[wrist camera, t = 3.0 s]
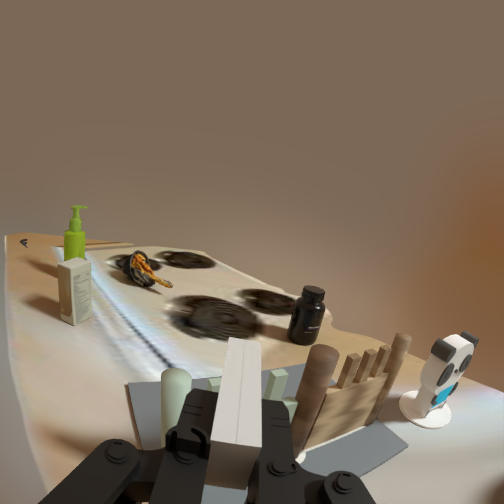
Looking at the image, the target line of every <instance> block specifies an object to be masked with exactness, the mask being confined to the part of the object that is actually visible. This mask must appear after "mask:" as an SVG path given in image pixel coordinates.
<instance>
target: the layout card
mask: <svg viewBox="0 0 504 504" xmlns="http://www.w3.org/2000/svg"><path fill="white" fill-rule="evenodd" d="M305 365H306V363H305V364H300V365H294V366H289V367H283V368H277V369H284V370H285V371H286V372H287V373H288V374H289V375H288V378H287V382H286V385H285V388H284V392H283V395H282V398H285V397H290V396H293V398H294V399H295V396H296V393H297V390H298V387H299V384H300V381H301V378H302V375H303V372H304V368H305ZM277 369H271V370H277ZM271 370H265V371H261V399H263V397H264V393H265V389H266V386H267V382H268V378H269V374H270V371H271ZM221 377H222V376H220V377H211V378H201V379H192V382H191V390H192V389H193V388H198V389H203V390H207V385H208V379H212V378H221ZM335 384H336V383H335V382H334V381H333V380H332V379H331V381H330V383H329V386H331V385H335ZM128 388H129V393H130V398H131V403H132V408H133V412H134V417H135V421H136V425H137V429H138V433H139V437H140V441H141V445H142V448H143V450H157V449H161V382H138V383H128ZM407 447H408V444H407V443H406V442H405V441H403V440H402V439H401V438H400V437H398V436H397V435H396V434H395V433H394V432H392V431H391V430H390V429H389V428H388V427H386V426H385V425H384V424H383V423H382V422H380V421H379V420H378V419H377V418H376V419H375V420H374V422H373V424H371V425H363V426H361V427H359V428H356V429H354V430H352V431H350V432H347V433H345V434H343V435H340V436H338V437H336V438H333V439H331V440H328V441H326V442H323V443H321V444H318V445H316V446H313V447H310V448H307V449H305V450H303V449H302V450H301V452H300V454H299V456H298V458H297V459H295V460H296V461H297V462H298V463H299V465H300V466H301V467H302V468H303V469H305V470H307V471H309V472H312V473H315V474H319V475H323V476H328V475H329V474H330V473H332V472H335V471H343V470H344V471H348V472H351V473H353V474H355V475H357V476H358V477H359V478H360V477H361V476H363V475H365V474H367V473H368V472H370V471H372V470H373V469H375V468H377V467H378V466H380V465H382V464H383V463H385V462H386V461H388V460H389V459H391V458H392V457H394V456H395V455H397V454H398V453H400V452H401V451H403V450H404V449H406V448H407ZM247 494H248V486H247V489H246V490H239V489H231V488H223V487H217V486H211V485H205V484H204V489H203V495H202V501H201V504H244V502H245V500H246V498H247Z"/></svg>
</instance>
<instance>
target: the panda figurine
mask: <svg viewBox="0 0 504 504" xmlns="http://www.w3.org/2000/svg"><path fill="white" fill-rule="evenodd" d="M478 341H479V339H478V338H477V337H474V336H473V335H471V334H469V333H468V332H466V331H463V332H462V333H461V335H460V336H459V335H456V334H455V335H450V336H449V337H447V338H445V339H444V340H442V339H440V338H439V339H438V340H437V341H436V342H435V343H434V345H433V346H432V349H431V353H432V354H431V355H430V357H429V358H428V360H427V362H426V363H425V365H424V367H423V369H422V372H421V376H420V382H421V384H422V385H421V387H420V389H419V391H410V392H407V393H405V394H403V395H402V396H401V398H400V400H399V408H400V410H401V412H402V414H403V415H404V416H405V417H406V418H407V419H408V420H409V421H411V422H412V423H414V424H416V425H418V426H420V427H423V428H427V429H439V428H443V427H445V426H446V425H447V424H448V423H449V422H450V420H451V411H450V409H449V407H448V406H447V404H446V401H447V398H448V397H449V396H450V395H451V394H452V393H453V392H454V390H455V389H456V387H457V385H458V382H457V381H458V379H459V378H460V377H461V375H462V374H463V372H464V371H465V369H466V368H467V367H468V365H469V363H470V361H471V358H472V353H473V349H474V348H475V347H476V346H477V344H478ZM454 385H455V386H454ZM453 387H454V388H453Z"/></svg>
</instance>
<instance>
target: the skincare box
mask: <svg viewBox="0 0 504 504" xmlns="http://www.w3.org/2000/svg"><path fill="white" fill-rule="evenodd" d="M57 265H58V288H59V302H60V313H61V319H62V320H64V321H65V322H67V323H69V324H71V325H73V326H75V325H77V324H79V323H81V322H82V321H84V320H86V319H87V318H89V317H91V316H92V298H91V262H90V261H87V260H84V259H82V258H78V257H76V258H73V259H70V260H67V261H64V262H61V263H58V264H57Z"/></svg>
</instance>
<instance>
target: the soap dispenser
mask: <svg viewBox="0 0 504 504" xmlns="http://www.w3.org/2000/svg"><path fill="white" fill-rule="evenodd" d="M81 208H87V206H82V205H75V206H71V209H73V217H72V218H70V225H69V230H67V231H65V238H64V261H67V260H70V259H73V258H76V257H78V258H82V259H84V256H85V232H84V231H81V222H82V219H81V218H79V209H81Z"/></svg>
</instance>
